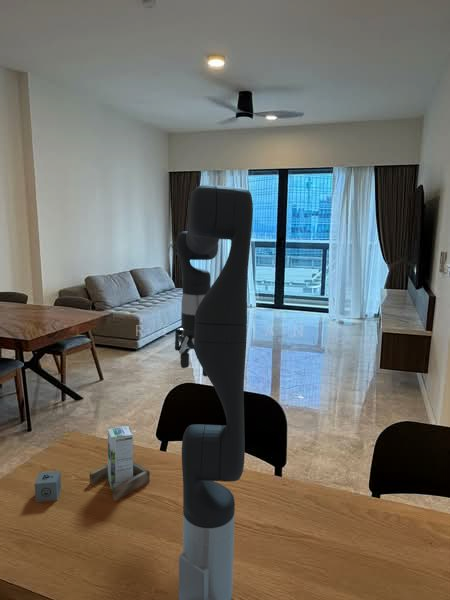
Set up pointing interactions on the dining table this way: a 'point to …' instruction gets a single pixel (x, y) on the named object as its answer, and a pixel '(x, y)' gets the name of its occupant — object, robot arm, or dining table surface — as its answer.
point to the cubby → (127, 486)
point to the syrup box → (120, 455)
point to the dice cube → (48, 486)
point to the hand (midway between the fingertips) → (195, 371)
